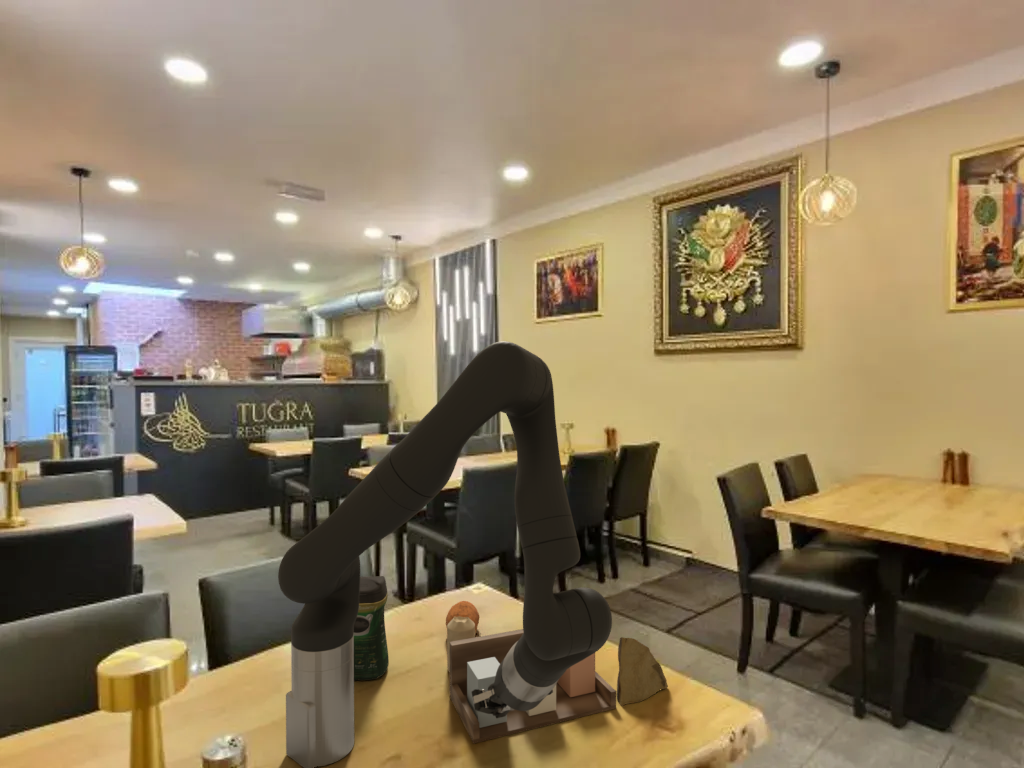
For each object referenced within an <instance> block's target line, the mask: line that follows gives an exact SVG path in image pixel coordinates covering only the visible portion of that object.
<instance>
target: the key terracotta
mask: <svg viewBox="0 0 1024 768" xmlns="http://www.w3.org/2000/svg"><path fill="white" fill-rule="evenodd" d="M595 671H596V652H595V653H594V654H592V655H590V656H589V657H587V658H585V659H584V660H582V661H580V662H578V663H576V664H575V665H573V666H571V667H570V668H568V669H567V670H566V671H565V673H564V674H563V675H562V676H561V677H560V678H559V680H558V682H557V683H558V684H559V685H560V686H561V687H562V688H563V690H564V691H565V692H566V693H567V694H568V695H569V696H570V697H574V696H579V695H583V694H587V693H592V692H595Z"/></svg>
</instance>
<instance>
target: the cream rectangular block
mask: <svg viewBox="0 0 1024 768" xmlns="http://www.w3.org/2000/svg"><path fill="white" fill-rule="evenodd" d="M552 690H553V693H551V694H550V695H547V696H546V697H545V698H544V699H543V700H542V701H541V702H540V703H539V704H538V705H537V706H536V707H535V708H533V709H531V710H527V711H526V712H527V714H528V715H529V716H532V715H536V714H541V713H545V712H549V711H553V710H556V685H555V687H554V688H553V689H552Z"/></svg>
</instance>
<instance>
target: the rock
mask: <svg viewBox="0 0 1024 768" xmlns="http://www.w3.org/2000/svg"><path fill="white" fill-rule="evenodd" d="M650 650H651V649H650V647H648V645H647V646H646V645H645V644H643V643H641V642H640V641H638V640H637V639H635V638H633V637H623V636H621V637H620V638H619V641H618V648H617V660H618V674H617V683H616V701H617V702H618V703H619V706H621V707H624V706H625V705H628V704H632V703H633V704H635V703H641V702H642V701H644V700H647V699H649V698H650V697H651V696H653V695H655V694H657V693H656V692H657V691H658V690H660V689H663V690H666V689H667V688H668V687H669V686H668V681H667V677H666V676H665V673H664V671H663V668H662V665H661V664H660V663H659V662H658V660H656V658H655V656H654V654H652V652H651V651H650ZM660 691H661V690H660ZM658 692H659V691H658Z"/></svg>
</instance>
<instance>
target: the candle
mask: <svg viewBox="0 0 1024 768" xmlns="http://www.w3.org/2000/svg"><path fill="white" fill-rule="evenodd" d="M446 637H447V638H446V640H447V641H446V644H447V645H446V652H447V653H446V655H447V657H446V660H447V661H446V663H447V664H446V665H447V671H448V672H449V673H450V642H452V641H458V640H464V639H469V638H475V637H476V633H475V623H474V622H473V621H472V620H471V619H470V618H468V617H466V618H465V617H460V616H459V617H454V618H453V619H452V620H451V621H450V622H449V623H448V625H447V626H446Z"/></svg>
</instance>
